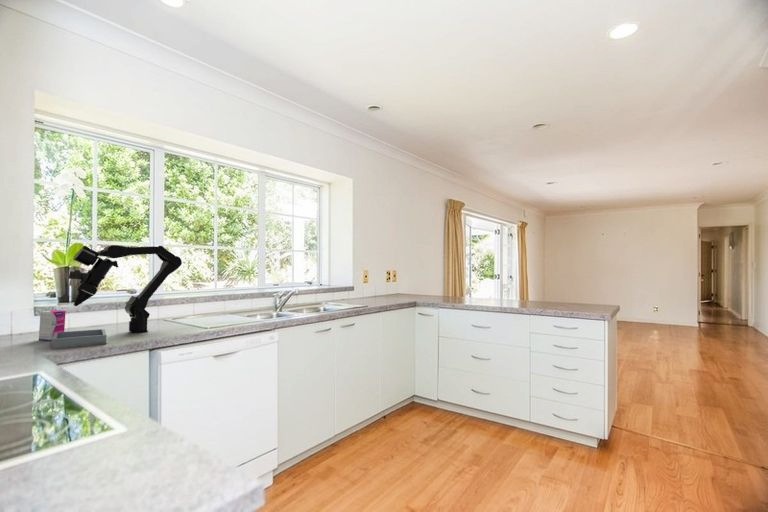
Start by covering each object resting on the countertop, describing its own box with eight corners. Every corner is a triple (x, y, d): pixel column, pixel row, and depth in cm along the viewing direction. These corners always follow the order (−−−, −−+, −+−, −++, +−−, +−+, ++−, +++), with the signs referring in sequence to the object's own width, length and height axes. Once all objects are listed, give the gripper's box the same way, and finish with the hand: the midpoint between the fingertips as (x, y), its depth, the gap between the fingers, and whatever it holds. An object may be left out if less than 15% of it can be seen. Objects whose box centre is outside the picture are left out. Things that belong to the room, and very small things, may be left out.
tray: (104, 337, 165) (104, 328, 165) (106, 344, 152) (106, 335, 152) (54, 341, 155) (54, 332, 155) (51, 349, 143) (52, 339, 143)
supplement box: (50, 341, 155) (51, 312, 155) (38, 340, 156) (39, 311, 157) (65, 338, 161) (65, 310, 161) (53, 337, 162) (54, 309, 162)
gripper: (78, 260, 171) (54, 291, 167) (78, 263, 156) (51, 298, 152) (105, 272, 177) (83, 303, 173) (107, 277, 162) (82, 311, 158)
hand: (75, 304), depth 164 cm, fingers open, 9 cm apart
